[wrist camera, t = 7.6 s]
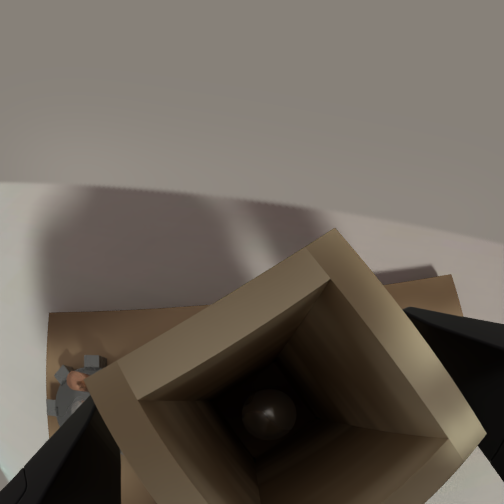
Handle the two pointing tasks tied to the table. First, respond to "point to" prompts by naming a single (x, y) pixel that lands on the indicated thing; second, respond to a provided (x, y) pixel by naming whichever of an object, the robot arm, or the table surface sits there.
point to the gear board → (163, 319)
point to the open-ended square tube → (306, 386)
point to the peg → (269, 414)
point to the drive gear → (73, 387)
